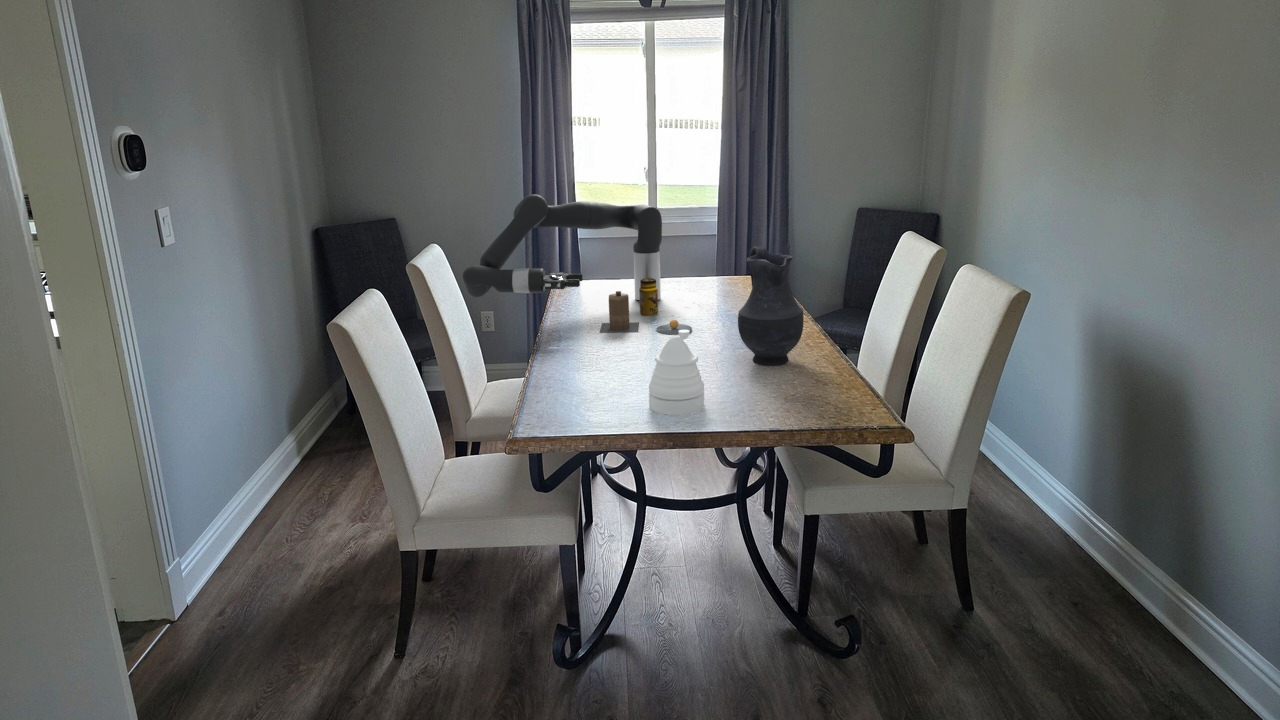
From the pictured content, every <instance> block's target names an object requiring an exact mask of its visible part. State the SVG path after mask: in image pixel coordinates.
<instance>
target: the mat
mask: <svg viewBox="0 0 1280 720" xmlns="http://www.w3.org/2000/svg"><path fill="white" fill-rule="evenodd" d="M629 325H630V327H629V329H625V330H613V329H610V322H601V326H600V329H599V332H598V334H615V333H616V334H619V333H622V334H623V333H624V334H625V333H627V334H629V333H639V331H640V330H639V329H640V321H639V322H638V321H636V322H631V321H629Z"/></svg>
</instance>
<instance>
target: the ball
mask: <svg viewBox="0 0 1280 720" xmlns="http://www.w3.org/2000/svg"><path fill="white" fill-rule="evenodd" d="M668 324H669V325H670V327H671V328H673V329H675V328H677V327H678V325H679V324H680V323H679V321H678V320H677V319H671V320H670V321H669V323H668Z"/></svg>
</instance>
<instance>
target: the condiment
mask: <svg viewBox="0 0 1280 720" xmlns="http://www.w3.org/2000/svg"><path fill="white" fill-rule="evenodd" d="M640 283H641V284H640V286H641V287H640V289H639V295H640V301H639V313H640V315H641V316H645V317H648V316H649V317H652V316H657V315H658V313H659V302H658V301H659V300H658V290H657V287H656V280H655V279H652V278H645V279H641V280H640Z"/></svg>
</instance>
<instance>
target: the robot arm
mask: <svg viewBox="0 0 1280 720" xmlns="http://www.w3.org/2000/svg"><path fill="white" fill-rule="evenodd" d="M537 228H539V229H540V228H565V229H567V228H568V229H578V230H579V229H580V230H604V229H605V230H606V229H609V228H625V229H631V230H636V231H637V240H636V242H634V244H633V248H632V249H633V275H634V276H633V277H634V299H637V300H640V295H639V289H640V287H641V286H640V284H641V283H640V280H641V279H645V278H652V279H655V280H656V287H657V290H658V301H660V300H661V299H660V298H662V297H661V293H662V292H661V289H662V288H661V256H660V255H661V253H660V252H661V251H660V250H661V249H660V248H661V244H662V239H663V237H662V236H663V234H662V233H663V220H662V213H661V212H660V210H659V208H657V207H655V206H652V205H648V204H634V205H633V204H631V205H630V204H629V205H616V204H615V205H614V204H610V203H606V202H605V203H604V202H601V201H600V202H597V201H586V200H585V201H583V200H582V201H581V200H579V201H573V202H572V201H571V202H568V203H563V204H558V205H557V204H556V205H548V202H547V201H546V199H545V198H544V197H543V196H541V195H540V194H528V195H527V196H525V197H524V198H522V200H520V202H519V203H517V205H516V207H515V209H514V211H513V219H512V220H511V221H510V223H509V224H508V225H507V226H506V227H505V229H503V230H502V232H500V234H498V236H497V237H496V238H495V239H494V240H493V242H492V243H491V244H490V245H489V246H488V248H487V249H485V251H484V253H483V254H482V255H481V257H480V259H479V265H477V264H475V265H471V266H469V267H467V268H466V269H465V270H463V273H462V280H463V283H464V285H465V288H466V290H467V293H468V294H469V295H470V296H472V297H474V298H480V297H484V296H485V295H486V294H487V293H488V292H489V291H490V289H491V288H494V289H495V290H496V291H497V292H498V293H517V294H518V293H519V294H543V293H545V290H564V289H567V288H579V287H580V285H581V282H582V281H583V280H584V279H583V273H582V274H581V273H570V272H569V271H566V272H558V271H557V272H550V273H549V274H547V275H546V271H545V269H544V268H518V269H502V268H503V266H504V265H505V264H506V262H508V260H509V259H510V257H511V256H512V254H513V253H514V251H515V250H516V249H517V248H518V247H519V245H520V243H522V240H523V239H524V238H525V236H526V235H527V234H528V233H529V232H530V231H532V230H533V229H537ZM637 300H636V301H637Z"/></svg>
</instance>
